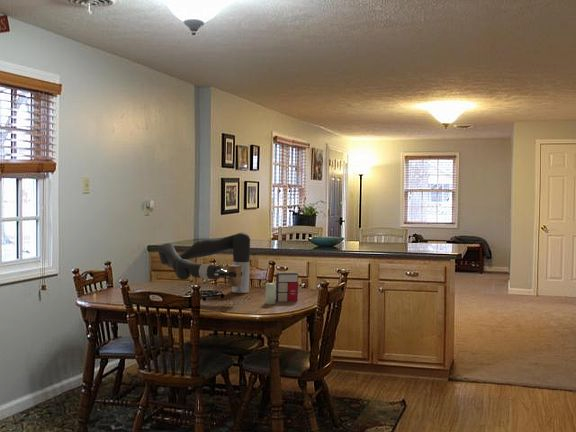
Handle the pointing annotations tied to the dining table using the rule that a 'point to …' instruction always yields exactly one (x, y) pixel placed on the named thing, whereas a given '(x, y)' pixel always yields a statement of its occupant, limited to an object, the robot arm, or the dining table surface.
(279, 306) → the dining table surface
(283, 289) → the miniature cabinet
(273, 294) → the sage cylinder
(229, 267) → the walnut block
